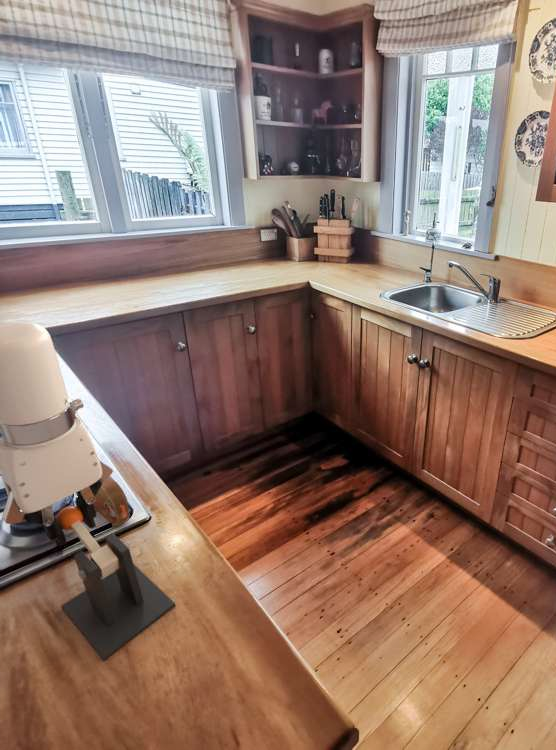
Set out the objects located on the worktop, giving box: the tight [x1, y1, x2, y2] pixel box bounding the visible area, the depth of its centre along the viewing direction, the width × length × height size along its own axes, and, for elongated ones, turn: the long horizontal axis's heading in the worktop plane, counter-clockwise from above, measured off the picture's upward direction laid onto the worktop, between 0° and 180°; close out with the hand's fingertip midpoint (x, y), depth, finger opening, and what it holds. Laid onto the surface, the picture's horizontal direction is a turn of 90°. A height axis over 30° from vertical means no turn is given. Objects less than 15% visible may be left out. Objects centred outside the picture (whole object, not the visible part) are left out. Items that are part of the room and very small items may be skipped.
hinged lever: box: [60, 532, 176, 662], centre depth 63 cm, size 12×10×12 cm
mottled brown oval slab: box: [75, 476, 131, 529], centre depth 81 cm, size 15×3×8 cm, turn 55°
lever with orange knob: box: [55, 505, 119, 579], centre depth 63 cm, size 12×3×3 cm, turn 54°
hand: (73, 530), depth 66 cm, fingers closed on lever with orange knob, 3 cm apart
